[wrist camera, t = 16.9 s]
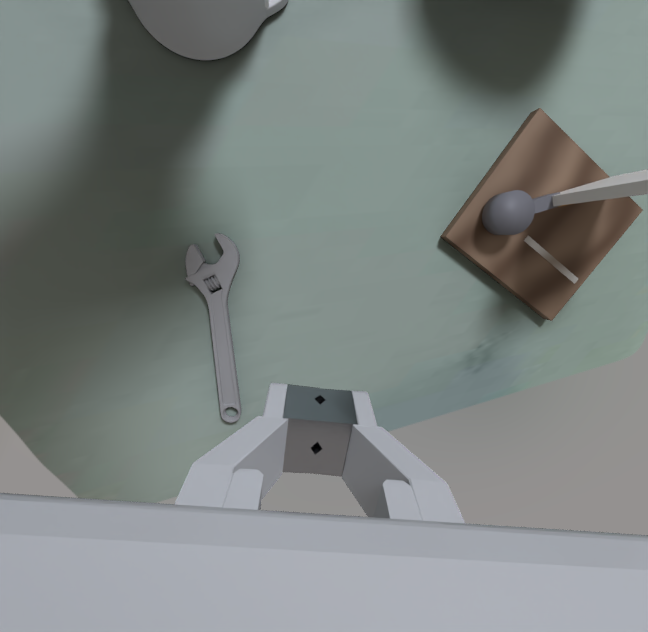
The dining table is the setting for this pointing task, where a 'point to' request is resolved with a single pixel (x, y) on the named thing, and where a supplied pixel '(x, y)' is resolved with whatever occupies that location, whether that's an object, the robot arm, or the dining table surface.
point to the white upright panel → (555, 201)
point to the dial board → (542, 219)
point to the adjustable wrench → (219, 316)
